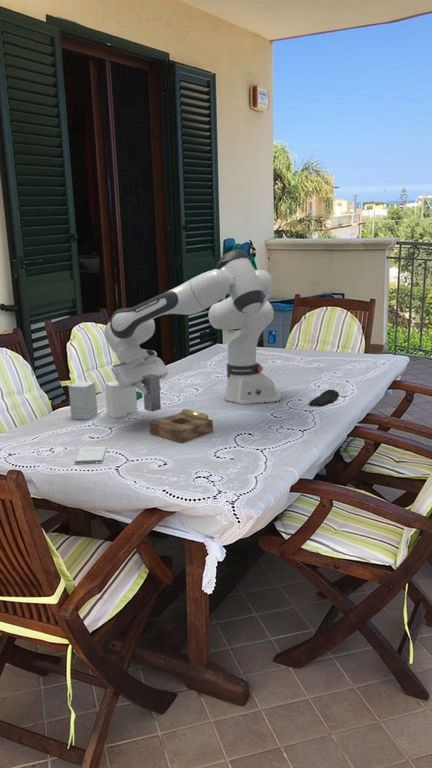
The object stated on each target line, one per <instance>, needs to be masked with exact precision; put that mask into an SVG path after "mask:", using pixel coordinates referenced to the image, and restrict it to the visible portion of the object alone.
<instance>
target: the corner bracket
mask: <svg viewBox="0 0 432 768" xmlns="http://www.w3.org/2000/svg"><path fill="white" fill-rule="evenodd" d="M104 384H105V385H104V387H105V401H106V413H107V415H110V418H112V419H117V418H122V417H123V418H124V417H127V416H128V415H127V414H131V413H137V412H138V400H137V398H136V391H137V388H136V386H133V387H129V388H125V389H123V388H121V387H120V386H119V384H118V382H117V380H116V381H115V380H114V381H109V382H105V383H104Z"/></svg>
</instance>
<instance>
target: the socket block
mask: <svg viewBox="0 0 432 768" xmlns="http://www.w3.org/2000/svg"><path fill="white" fill-rule="evenodd" d="M213 431H214V423H213V419H210V418H208V419H206V418H202V417H198V416H194V415H191V414H187V413H183V412H178V413H175V414H172V415H169V416H165V417H163V418H160V419H156V420H153V421H149V434H150V435H153V436H157V437H160V438H163V439H167V440H171V441H172V442H173V441H174V442H177V443H180V444H182V443H184V442H187V441H190V440H193V439H197V438H199V437H201V436H204V435H207V434H210V433H213Z"/></svg>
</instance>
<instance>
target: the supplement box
mask: <svg viewBox="0 0 432 768" xmlns="http://www.w3.org/2000/svg"><path fill="white" fill-rule="evenodd" d="M68 395H69V405H70V406H69V407H70V417H71V419H72V420H83V421H84V420H85V421H89V420H91V419H93V418H95V417H96V416H98V415H99V413H98V401H97V389H96V382H95V381H76V382H73V383H72V384H70V385H68Z"/></svg>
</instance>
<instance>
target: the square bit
mask: <svg viewBox="0 0 432 768" xmlns="http://www.w3.org/2000/svg"><path fill="white" fill-rule="evenodd" d="M143 379H144V380H143V384H142V386H144V387H145V388H148V390H149V393H148V394H146V395H144V394H143V404H144V405H143V407H144V408H143V409H144V410H145V411H148V412H152V413H154V412H156V411H159V410H162V408H161V390H160V387H161V384H160V380H159V376H158V375H154V374H149V375H145V376H143Z"/></svg>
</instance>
